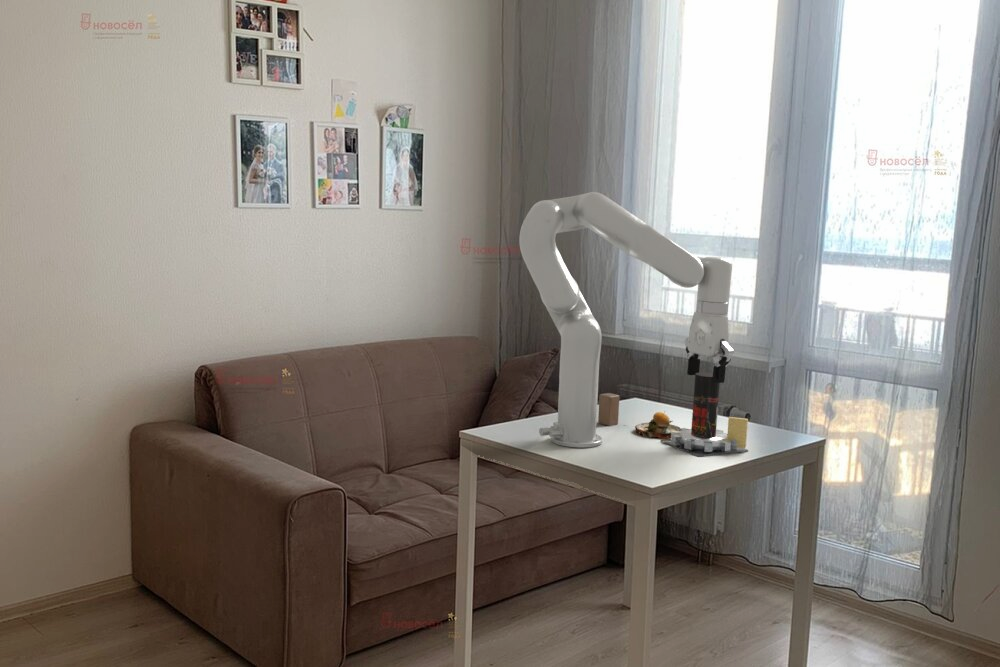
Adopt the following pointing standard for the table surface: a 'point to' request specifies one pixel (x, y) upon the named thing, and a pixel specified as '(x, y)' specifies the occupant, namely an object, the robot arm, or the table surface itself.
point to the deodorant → (705, 406)
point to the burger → (657, 427)
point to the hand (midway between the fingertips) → (705, 378)
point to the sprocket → (720, 442)
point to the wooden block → (608, 409)
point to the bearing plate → (701, 452)
